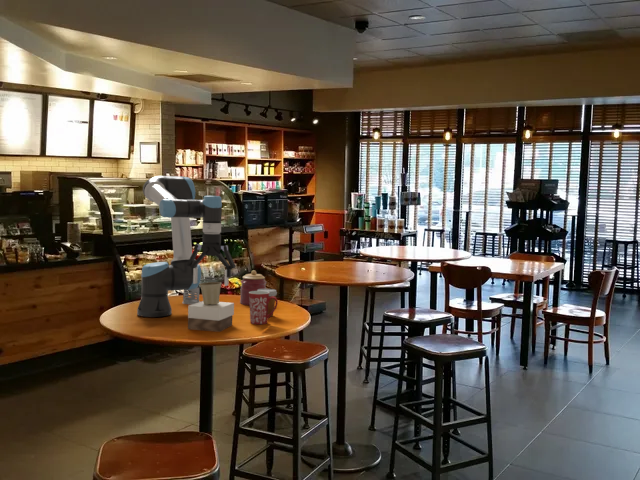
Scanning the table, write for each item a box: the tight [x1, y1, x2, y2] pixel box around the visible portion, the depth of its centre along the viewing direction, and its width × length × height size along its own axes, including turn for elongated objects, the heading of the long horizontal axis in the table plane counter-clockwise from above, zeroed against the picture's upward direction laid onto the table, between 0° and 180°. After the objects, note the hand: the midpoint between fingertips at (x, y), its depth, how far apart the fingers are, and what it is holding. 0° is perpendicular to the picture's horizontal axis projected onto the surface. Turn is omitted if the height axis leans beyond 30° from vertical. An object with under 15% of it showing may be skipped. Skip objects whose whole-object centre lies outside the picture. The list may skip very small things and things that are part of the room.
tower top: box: [187, 300, 235, 321], centre depth 265 cm, size 14×14×5 cm
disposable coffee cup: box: [257, 288, 278, 318], centre depth 292 cm, size 10×10×12 cm
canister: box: [239, 269, 267, 306], centre depth 319 cm, size 13×13×18 cm
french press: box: [178, 286, 200, 305], centre depth 318 cm, size 10×12×25 cm
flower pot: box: [198, 281, 223, 305], centre depth 264 cm, size 9×9×9 cm
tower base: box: [187, 315, 233, 333], centre depth 265 cm, size 14×14×5 cm
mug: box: [249, 291, 278, 325], centre depth 276 cm, size 13×9×14 cm
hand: (210, 284), depth 263 cm, fingers open, 13 cm apart
